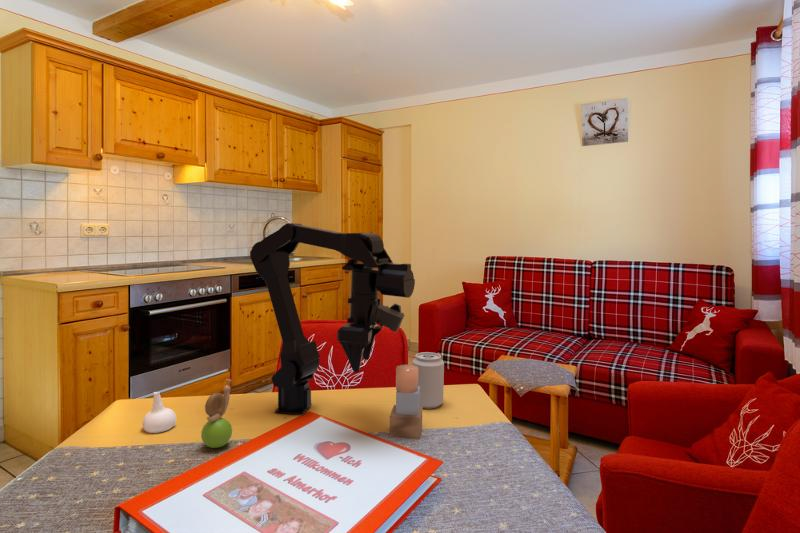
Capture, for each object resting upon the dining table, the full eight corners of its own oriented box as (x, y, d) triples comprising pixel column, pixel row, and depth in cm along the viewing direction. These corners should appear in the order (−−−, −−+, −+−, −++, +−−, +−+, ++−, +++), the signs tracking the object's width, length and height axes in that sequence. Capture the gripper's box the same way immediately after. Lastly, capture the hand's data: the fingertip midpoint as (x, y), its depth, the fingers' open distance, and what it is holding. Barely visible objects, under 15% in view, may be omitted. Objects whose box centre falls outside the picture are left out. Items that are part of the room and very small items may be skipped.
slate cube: (395, 414, 94) (396, 392, 94) (398, 406, 98) (398, 385, 98) (418, 415, 94) (418, 393, 93) (419, 407, 98) (419, 386, 98)
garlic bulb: (182, 423, 99) (182, 387, 98) (163, 436, 93) (162, 397, 92) (156, 421, 100) (155, 385, 99) (135, 433, 94) (134, 395, 93)
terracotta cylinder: (394, 392, 94) (395, 370, 93) (397, 385, 98) (397, 364, 98) (417, 393, 93) (417, 371, 93) (418, 386, 98) (418, 365, 97)
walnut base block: (389, 437, 94) (389, 415, 93) (393, 425, 100) (394, 404, 99) (419, 439, 93) (419, 417, 92) (421, 427, 99) (422, 406, 98)
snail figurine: (241, 440, 91) (241, 380, 90) (218, 455, 85) (217, 390, 84) (218, 436, 93) (218, 377, 92) (194, 450, 87) (193, 387, 86)
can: (443, 399, 115) (444, 351, 114) (442, 410, 108) (444, 359, 107) (412, 397, 116) (413, 350, 115) (410, 409, 108) (411, 358, 108)
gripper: (395, 302, 88) (391, 383, 89) (408, 289, 106) (405, 356, 107) (337, 298, 89) (334, 378, 91) (360, 286, 108) (357, 352, 109)
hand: (361, 365), depth 99 cm, fingers open, 9 cm apart
